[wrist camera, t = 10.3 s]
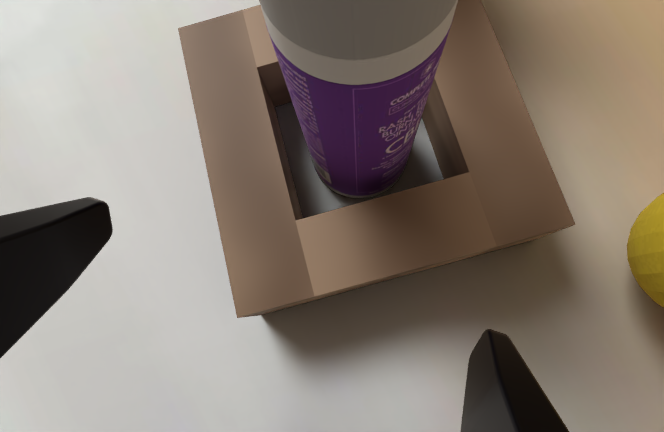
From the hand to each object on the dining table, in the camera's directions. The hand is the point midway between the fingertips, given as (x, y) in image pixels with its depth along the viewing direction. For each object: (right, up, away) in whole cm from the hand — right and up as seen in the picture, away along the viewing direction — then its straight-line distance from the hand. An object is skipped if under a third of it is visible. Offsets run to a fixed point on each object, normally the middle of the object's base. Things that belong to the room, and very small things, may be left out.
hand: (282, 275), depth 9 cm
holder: (+2, +5, +11) cm, 12 cm away
